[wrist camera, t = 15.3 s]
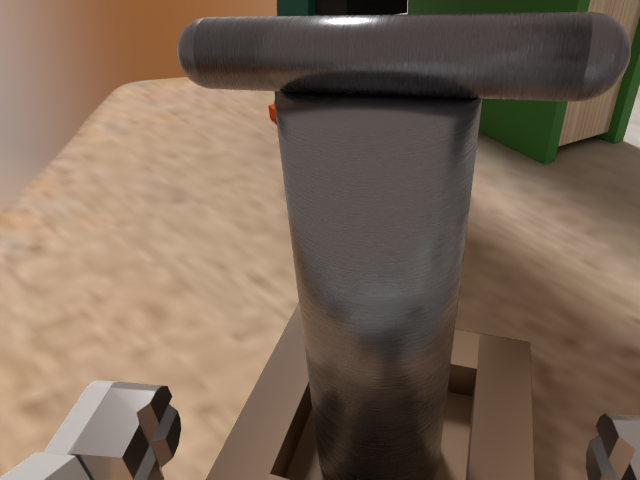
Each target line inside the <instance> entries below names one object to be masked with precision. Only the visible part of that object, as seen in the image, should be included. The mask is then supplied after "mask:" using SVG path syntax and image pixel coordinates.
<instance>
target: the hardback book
mask: <svg viewBox="0 0 640 480" xmlns="http://www.w3.org/2000/svg"><path fill="white" fill-rule="evenodd" d="M553 12H597V13H602V14H606V15H609V16H610V17H612V18H614V19H616V20H617V21H618V22H619V23H620V24H621V25H622V26H623V27H624V28H625V30H626V32H627V33H628V36H629V39H630V42H631V57H630V61H629V64H628V66H627V69H626V71H625V73H624V75H623V76H622V77H621V79H620V80H619V81H618V83H616V84H615V85H614V86H613V87H612V88H611V89H610V90H608V91H607V92H605V93H604V94H602V95H600V96H598V97H596V98H593V99H590V100H586V101H577V102H570V101H541V100H513V99H484V98H482V105H481V114H480V122H479V130H478V132H480V133H482V134H484V135H486V136H488V137H490V138H492V139H494V140H496V141H498V142H500V143H502V144H504V145H506V146H508V147H510V148H512V149H514V150H516V151H518V152H520V153H522V154H524V155H526V156H528V157H530V158H533V159H535V160H537V161H539V162H541V163H543V164H547V163H551V162H554V161H555V158H556V154H557V149H558V146H561V145H565V144H568V143H571V142H575V141H578V140H582V139H585V138H589V137H592V136H596V137H598V138H601V139H604V140H606V141H609V142H611V143H617V142H620V141H623V138H624V135H625V132H626V128H627V125H628V121H629V118H630V115H631V111H632V108H633V105H634V101H635V98H636V95H637V91H638V88H639V85H640V0H408V15H410V14H481V13H553Z"/></svg>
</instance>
